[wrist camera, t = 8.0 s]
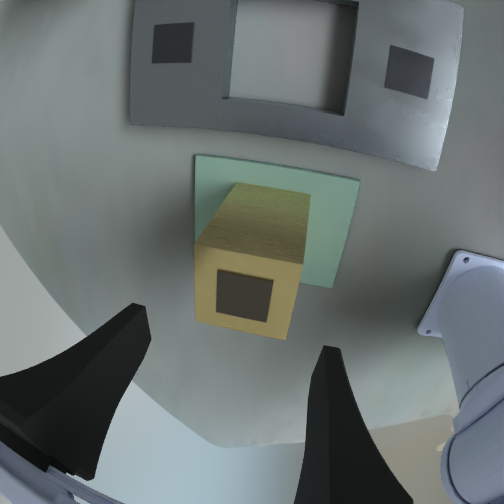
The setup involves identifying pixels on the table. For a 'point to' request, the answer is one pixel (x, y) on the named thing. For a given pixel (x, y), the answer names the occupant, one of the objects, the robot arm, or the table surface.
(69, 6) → the table surface
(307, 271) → the mat
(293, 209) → the tan box
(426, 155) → the grey slotted base board
